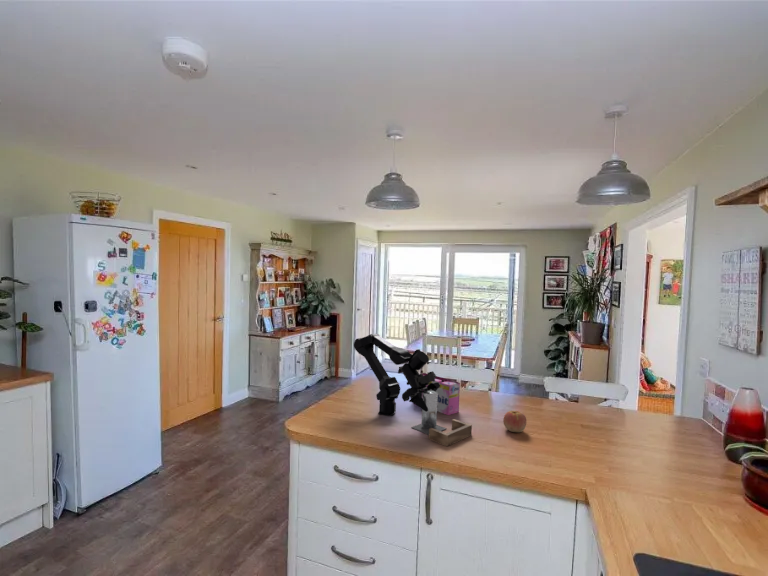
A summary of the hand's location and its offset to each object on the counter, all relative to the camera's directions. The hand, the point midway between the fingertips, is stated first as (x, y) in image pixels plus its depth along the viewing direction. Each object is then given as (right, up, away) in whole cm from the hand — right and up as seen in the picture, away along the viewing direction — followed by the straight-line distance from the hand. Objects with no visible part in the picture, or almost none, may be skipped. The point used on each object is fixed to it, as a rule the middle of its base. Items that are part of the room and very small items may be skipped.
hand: (432, 409), depth 160 cm
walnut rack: (+6, -9, -7) cm, 13 cm away
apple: (+33, -10, +2) cm, 35 cm away
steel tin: (-1, -7, +1) cm, 7 cm away
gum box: (+5, -8, +29) cm, 30 cm away
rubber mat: (-1, -8, +1) cm, 8 cm away
